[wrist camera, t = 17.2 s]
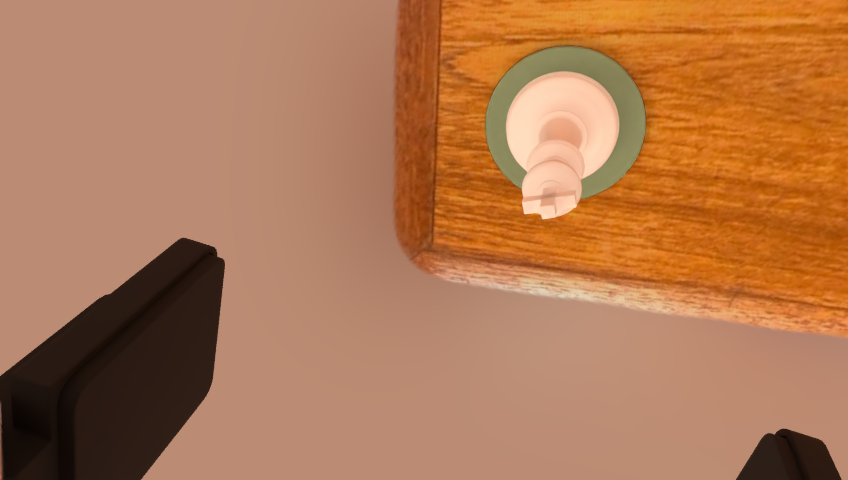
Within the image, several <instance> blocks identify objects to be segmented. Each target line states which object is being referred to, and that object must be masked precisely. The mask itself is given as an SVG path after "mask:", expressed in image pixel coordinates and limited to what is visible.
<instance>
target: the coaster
mask: <svg viewBox="0 0 848 480" xmlns="http://www.w3.org/2000/svg"><path fill="white" fill-rule="evenodd" d="M559 71H568V72H576V73H580V74H583V75H586V76H588V77H590V78H592V79H594V80H595V81H597V82H598V83H599V84H601V85H602V86H603V87H604V88H605V89H606V90H607V91H608V93H609V94H610V95H611V97H612V99H613V100H614V103H615V105H616V107H617V111H618V115H619V134H618V139H617V142H616V145H615V147H614V149H613V151H612V153H611V155H610V156H609V158H608V159H607V161H606V162H605V163H604V164H603V165H602V166H601V167H600V168H599V169H598V170H597V171H595V172H594V173H592V174H591V175H589V176H587V177H585V178H583V179H581V185H582V193H581V197H580V199H583V198H587V197H590V196H593V195H595V194H598V193H600V192H602V191H604V190H606V189H608V188H609V187H610V186H612V185H613V184H615V183H616V182H617V181H618V180H619V179H621V178H622V177H623V176H624V175H625V174H626V172H627V171H628V170H629V169H630V168H631V166H632V165H633V163H634V162H635V160H636V158H637V156H638V154H639V152H640V150H641V147H642V144H643V141H644V136H645V130H646V115H645V107H644V104H643V100H642V96H641V94H640V91H639V89H638V87H637V85H636V83H635V82H634V80H633V78H632V77H631V76H630V75H629V73H628V72H627V71H626V70H625V69H624V68H623V67H622V66H621V65H620V64H619V63H617V62H616V61H615V60H613V59H612V58H610V57H609V56H607V55H605V54H603V53H601V52H598V51H596V50H593V49H590V48H585V47H580V46H556V47H550V48H546V49H543V50H540V51H537V52H535V53H533V54H530V55H528V56H526V57H525V58H523V59H522V60H520V61H519V62H517V63H516V64H515V65H514V66H513V67H512V68H510V69H509V70H508V72H507V73H506V74H505V75H504V76H503V77H502V79H501V80H500V82H499V83H498V84H497V86H496V88H495V90H494V92H493V94H492V96H491V98H490V101H489V104H488V108H487V113H486V122H485V129H486V138H487V143H488V147H489V150H490V153H491V155H492V157H493V159H494V161H495V163H496V164H497V166H498V167H499V169H500V170H501V172H502V173H503V174H504V175H505V176H506V177H507V178H508V179H509V180H510V181H511V182H512V183H513V184H515V185H516V186H518V187H519V188H521V189H522V183H523V180H524V177H525V176H526V174H527V171H526V170H524V169H523V168H522V167H521V166H520V165H519V163H518V162H517V161H516V160H515V158H514V156H513V155H512V153H511V151H510V148H509V145H508V141H507V135H506V120H507V115H508V111H509V108H510V106H511V104H512V102H513V100H514V98H515V97H516V95H517V94H518V93H519V91H520V90H521V89H522V88H523V87H524V86H526V85H527V84H528V83H529V82H531V81H532V80H534V79H536V78H538V77H540V76H542V75H545V74H548V73H552V72H559Z"/></svg>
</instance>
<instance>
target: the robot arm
mask: <svg viewBox="0 0 848 480" xmlns="http://www.w3.org/2000/svg"><path fill="white" fill-rule="evenodd" d="M224 269H225V262H224V260H223V259H222V258H219V257H217V251H216V249H215V248H214V247H212V246H209V245H206V244H203V243H200V242H196V241H193V240H190V239H187V238H181V239H179V240H178V241H177V242H175V243H174V244H173V245H171V246H170V247H169V248H168V249H166V250H165V251H164V252H163V253H161V254H160V255H159V256H158V257H156V258H155V259H154V260H153V261H151V262H150V263H149V264H148V265H146V266H145V267H144V268H143V269H141V270H140V271H139V272H137V273H136V274H135V275H134V276H132V277H131V278H130V279H129V280H128V281H126V282H125V283H124V284H122V285H121V286H120V287H119V288H117V289H116V290H115V291H114V292H112V293H111V294H108V295H105V296H103V297H101V298H99V299H98V300H96V301H95V302H94V303H93V304H91V305H90V306H89V307H88V308H86V309H85V310H84V311H83V312H81V313H80V314H79V315H77V316H76V317H75V318H74V319H72V320H71V321H70V322H69V323H67V324H66V325H65V326H63V327H62V328H61V329H60V330H58V331H57V332H56V333H55V334H53V335H52V336H51V337H49V338H48V339H47V340H46V341H44V342H43V343H42V344H41V345H39V346H38V347H37V348H35V349H34V350H33V351H32V352H30V353H29V354H28V355H27V356H25V357H24V358H23V359H22V360H20V361H19V362H18V363H16V364H15V365H14V366H13V367H11V368H10V369H9V370H8V371H6V372H5V373H4V374H2V375H1V376H0V480H141V479H142V478H143V476H144V475H145V474H146V472H147V471H148V470H149V469H150V467H151V466H152V465H153V464H154V462H155V461H156V460H157V458H158V457H159V456H160V455H161V453H162V452H163V451H164V450H165V448H166V447H167V446H168V444H169V443H170V442H171V441H172V439H173V438H174V437H175V436H176V434H177V433H178V432H179V431H180V429H181V428H182V427H183V425H184V424H185V423H186V422H187V420H188V419H189V418H190V416H191V415H192V414H193V413H194V411H195V410H196V409H197V407H198V406H199V405H200V404H201V402H202V401H203V400H204V398H205V397H206V395H207V393H208V392H209V389H210V387H211V383H212V379H213V371H214V362H215V353H216V344H217V334H218V325H219V316H220V307H221V297H222V288H223V287H222V286H223V278H224ZM736 480H841V477H840V475H839V473H838V471H837V469H836V467H835V465H834V462H833V460H832V458H831V456H830V454H829V451H828V449H827V447H826V445H825V444H824V443H823V442H822V441H821V440H819V439H816V438H813V437H810V436H807V435H804V434H801V433H797V432H794V431H791V430H788V429H781V430H779V431H777V432H776V434H775V435H774V434H771V433H768V434H766V435H764V436H763V438H762V439H761V440H760V442H759V444H758V445H757V447H756V448H755V450H754V452H753V453H752V455H751V456H750V458H749V460H748V461H747V463H746V464H745V466H744V468H743V469H742V471H741V472H740V474H739V476H738V477H737V479H736Z"/></svg>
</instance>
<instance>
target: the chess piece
mask: <svg viewBox="0 0 848 480" xmlns="http://www.w3.org/2000/svg"><path fill="white" fill-rule="evenodd" d="M618 134H619V115H618V111H617V107H616V105H615V103H614V100H613V99H612V97H611V95H610V94H609V93H608V91H607V90H606V89H605V88H604V87H603V86H602V85H601V84H599V83H598V82H597V81H595V80H594V79H592V78H590V77H588V76H586V75H583V74H580V73H576V72H568V71H559V72H552V73H548V74H545V75H542V76H540V77H538V78H536V79H534V80H532V81H531V82H529V83H528V84H527V85H526V86H524V87H523V88H522V89H521V90H520V91H519V93H518V94H517V95H516V97H515V98H514V100H513V102H512V104H511V106H510V108H509V111H508V115H507V120H506V135H507V141H508V145H509V148H510V151H511V153H512V155H513V156H514V158H515V160H516V161H517V162H518V163H519V165H520V166H521V167H522V168H523V169H524V170H526V171H527V174H526V176H525V177H524V180H523V183H522V194H523V200H522V205H523V210H524V214H531V213H538V214H540V215H541V216H542V219H548V218H556V217H557V216H561V215H564V214H566V213H568V212H569V211H571V210H572V209H573V208H575V207H577V203H578V202H579V200H580V197H581V193H582V185H581V179H583V178H585V177H587V176H589V175H591V174H592V173H594V172H595V171H597V170H598V169H599V168H600V167H601V166H602V165H603V164H604V163H605V162H606V161H607V159H608V158H609V156H610V155H611V153H612V151H613V149H614V147H615V145H616V142H617V139H618Z"/></svg>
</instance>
